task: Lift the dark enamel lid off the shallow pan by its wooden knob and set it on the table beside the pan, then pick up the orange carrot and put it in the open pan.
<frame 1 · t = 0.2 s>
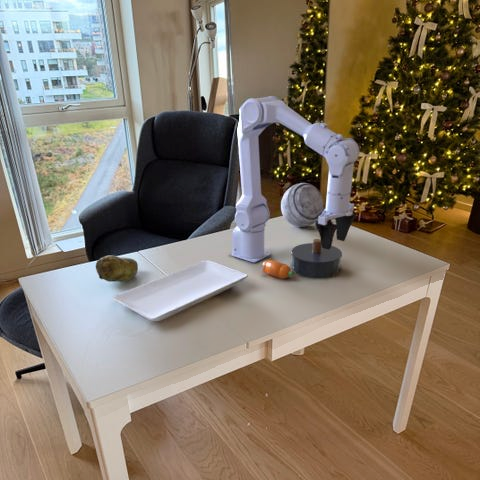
hand: (333, 244, 117), 10 cm above the table, tool pointing down, fingers open, 7 cm apart
potato: (121, 281, 123), on the table
lid: (316, 253, 126), point 4 cm above the table, touching pan
decorative orb: (300, 226, 161), on the table
pan: (315, 268, 128), on the table
tray: (184, 297, 114), on the table
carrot: (276, 275, 124), on the table
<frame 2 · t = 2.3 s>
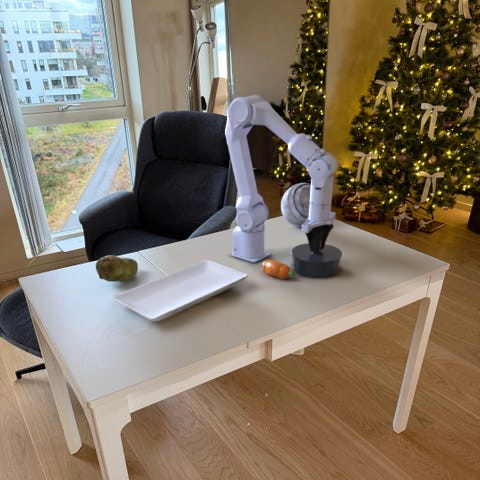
hand: (316, 250, 125), 6 cm above the table, tool pointing down, fingers closed on lid, 2 cm apart
lid: (316, 253, 126), point 5 cm above the table, touching gripper, pan
everything else where it was.
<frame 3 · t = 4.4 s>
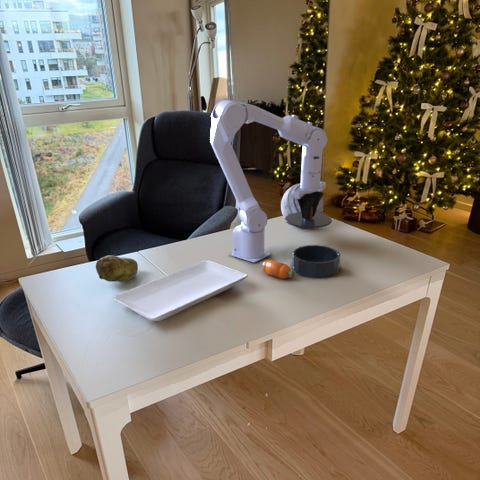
hand: (308, 217, 136), 10 cm above the table, tool pointing down, fingers closed on lid, 2 cm apart
lid: (308, 220, 136), point 9 cm above the table, touching gripper
everything else where it was.
when the fingers open (2 cm above the table, at t = 6.8 s): lid stays where it is, point 1 cm above the table.
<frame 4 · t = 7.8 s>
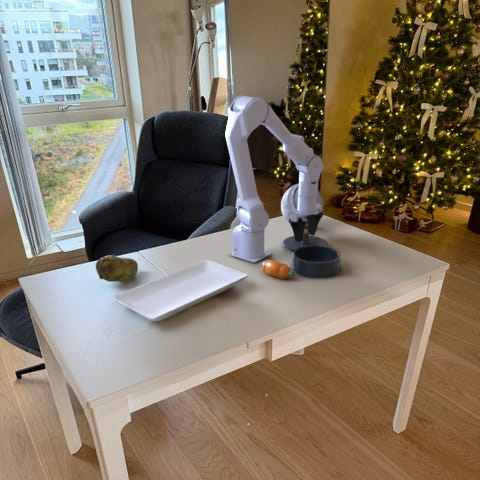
hand: (304, 237, 142), 3 cm above the table, tool pointing down, fingers open, 7 cm apart
lid: (304, 244, 143), point 1 cm above the table
everything else where it was.
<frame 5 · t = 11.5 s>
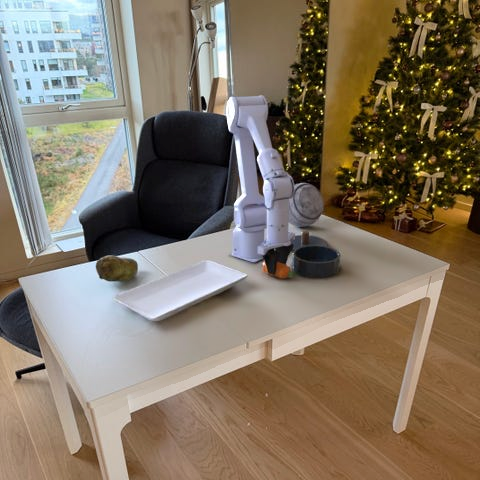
hand: (276, 271, 124), 1 cm above the table, tool pointing down, fingers closed on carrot, 4 cm apart
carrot: (276, 275, 124), on the table, touching gripper
everything else where it was.
when the fingers open (2 cm above the table, at t = 15.8 s): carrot stays where it is, resting on pan.
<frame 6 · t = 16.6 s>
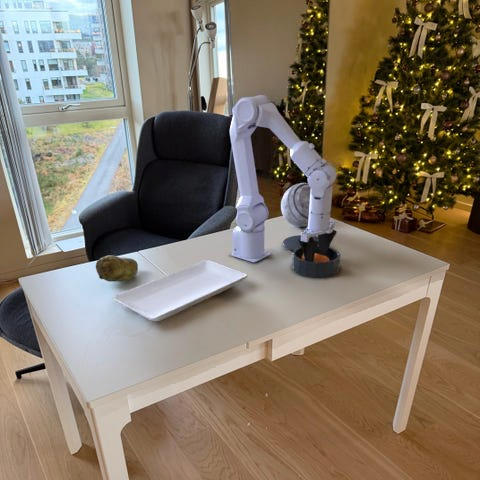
hand: (316, 258, 127), 3 cm above the table, tool pointing down, fingers open, 7 cm apart
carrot: (315, 266, 128), point 1 cm above the table, tilted 11°, touching pan
everything else where it was.
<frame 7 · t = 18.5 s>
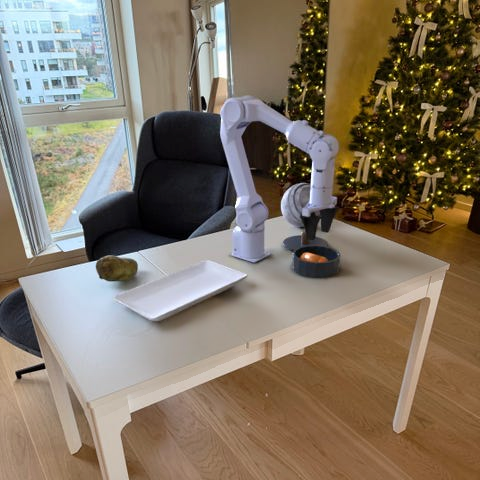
hand: (317, 235, 123), 10 cm above the table, tool pointing down, fingers open, 7 cm apart
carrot: (315, 265, 128), point 1 cm above the table, tilted 35°, touching pan
everything else where it was.
at the end: lid inside the target area (0.1 cm from its centre), point 0.6 cm above the table; lid tilted 0°; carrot inside the target area in the pan (0.1 cm from its centre), point 0.9 cm above the pan's base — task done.
